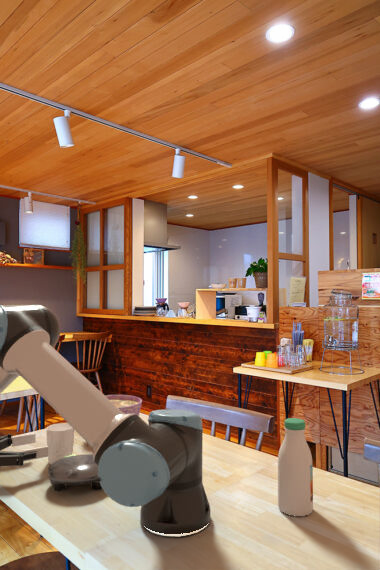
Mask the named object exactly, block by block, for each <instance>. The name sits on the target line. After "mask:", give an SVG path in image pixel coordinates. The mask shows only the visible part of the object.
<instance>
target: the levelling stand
mask: <svg viewBox="0 0 380 570" xmlns="http://www.w3.org/2000/svg"><path fill="white" fill-rule="evenodd" d="M47 476H48V478H49V480H50V481H49V482H50V485H52V491H54V492H62V491H65V490H66V489H67V486H68V485H70V486H72V485H73V486H74V485H78V486H79V485H85V484H90V485H91V490H93V491H100V490H101V491H102V490H103V488H102V486H101V484H100V481H101V477H98V465H97V464H96V463H95V462H94V461H93V454H87V453H86V454H76V453H74V454H73V453H72V455H68V456H64V458H62V459H60V460H57V461H55V462H54V463H52V464H51V465H50V464H49V467H48V475H47Z"/></svg>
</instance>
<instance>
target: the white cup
mask: <svg viewBox="0 0 380 570" xmlns="http://www.w3.org/2000/svg"><path fill="white" fill-rule="evenodd" d="M74 439H75V430H74V429H73V428H72V427H71V426H70V425H69V424H68V423H67V422H60V423H53V424H50V425H47V427H46V446H48V457H47V460H48V461H47V462H48V464H49V466H50V465H51V464H52V463H54V462H55V461H57V460H60V459H62V458H64V456H68V455H73V452H74V442H75V441H74Z"/></svg>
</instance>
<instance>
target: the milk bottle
mask: <svg viewBox="0 0 380 570" xmlns="http://www.w3.org/2000/svg"><path fill="white" fill-rule="evenodd" d="M283 422H284V423H283V424H284V430H285V435H284V439H283V441H282V443H281V445H280V447H279V451H278V455H277V506H278V509H279V510H280V512H282V513H283V512H284V513H283V514H285V513H286V514H285V515H287V514H290V515H295V516H294V517H296V516H303V517H306V516H305V515H307V516H309V515H311V514H312V513H313V510H314V477H313V475H314V472H313V471H314V467H313V466H314V465H313V457H312V452H311V448H310V446H309V444H308V442H307V440H306V436H305V431H306V421H305V420H304V419H302V418H298V417H297V418H296V417H288V418H286V419H285V420H284V421H283ZM310 513H311V514H310ZM308 514H309V515H308ZM290 515H289V516H290Z"/></svg>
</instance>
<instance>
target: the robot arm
mask: <svg viewBox="0 0 380 570" xmlns="http://www.w3.org/2000/svg"><path fill="white" fill-rule="evenodd" d="M60 336H61V324H60V320H59V318H58V317H57V315H56V314H55V313H54V311H53V310H51V309H50V308H48V307H46V306H45V305H41V304H3V305H2V304H0V395H1V394H2V393H3V392H4V391H5V390H6V389H7V388H8V387H9V386H10V385H11V384H12V383H13V382H14V381H16V379H18V378H19V376H20V377H21V378H22V379H23V380H24V381H25V382H26V383H27V384H28V385H29V386H30V387H31V388H32V389H33V390H35V392H36V393H37V394H38V395H39V396H40V397H41V398H42V399H43V400H44V401H45V402H46V403H48V405H49V406H50V407H52V409H54V411H56V413H57V414H58V415H59V416H60V417H61V418H62V419H63V420H64V421H65V423H68V424H69V425H70V426H71V427H72V428H73V429H74V432H76V433H77V434H78V435H79V436H80V437H81V438H82V439H83V440H84V441H85V442H86V443H87V444H88V445H89V446H90V447H91V448H92V450H93V451H92V452H93V453H92V455H93V461H94V462H95V463H96V464H97V465H98V477H101V481H100V484H101V486H102V488H103V489H102V490H103V491H104V493H105V494H106V495H107V496H108V497H109V499H111V500H112V501H114V502H115V503H117V504H118V505H120V506H122V507H123V506H124V507H127V508H137V507H140V513H139V514H140V519H139V521H140V522H139V523H140V525H141V527H143V526H145V527H146V528H148V529H150V530H152V531H155V532H159V533H164V534H181V533H182V534H183V533H190V532H193V531H196V530H199V529H201V528H203V527H204V526H206V525H207V524H208V523H209V521H210V522H211V506H210V503H209V499H208V495H207V493H206V489H205V488H204V484H203V432H204V429H203V420H202V417H201V415H200V414H199V413H197V412H194V411H189V410H182V409H156V410H152V411H150V412H149V414H148V418H147V422H148V423H147V422H145V420H143V419H142V418H141V417H140V415H139V416H138V415H137V414H135V413H132V414H124V413H123V412H122V411H121V410H120V409H119V408H118V407H116V406H115V405H114V404H113V403H112V402H111V401H110V400H109V399H108V398H107V397H106V395H105V394H104V393H102V392H101V390H100V389H98V388H97V386H95V385H94V384H93V383H92V382H91V381H90V380H88V379H87V377H85V376H84V375H83V374H82V373H81V372H80V371H79V370H78V369H77V368H75V366H74V365H72V364H71V362H69V361H68V360H67V359H66V358H65V357H64V356H62V354H60V353H59V352H58V351H57V349H55V346H56V345H57V343H58V341H59V339H60ZM35 443H36V433H35V432H33V433H28V434H22V435H15V436H12V433H8V434H7V435H6V434H5V435H3V436H0V467H16V466H17V467H18V466H20V467H21V466H24V462H28V461H33V460H36V459H37V460H38V459H42V458H48V446H47V445H45V446H39V447H34V448H29V449H23V450H22V451H11V450H10V451H6V450H5V449H8V448H9V447H12V448H13V447H19V446H25V445H30V444H35ZM4 450H5V451H4ZM209 524H210V523H209Z"/></svg>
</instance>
